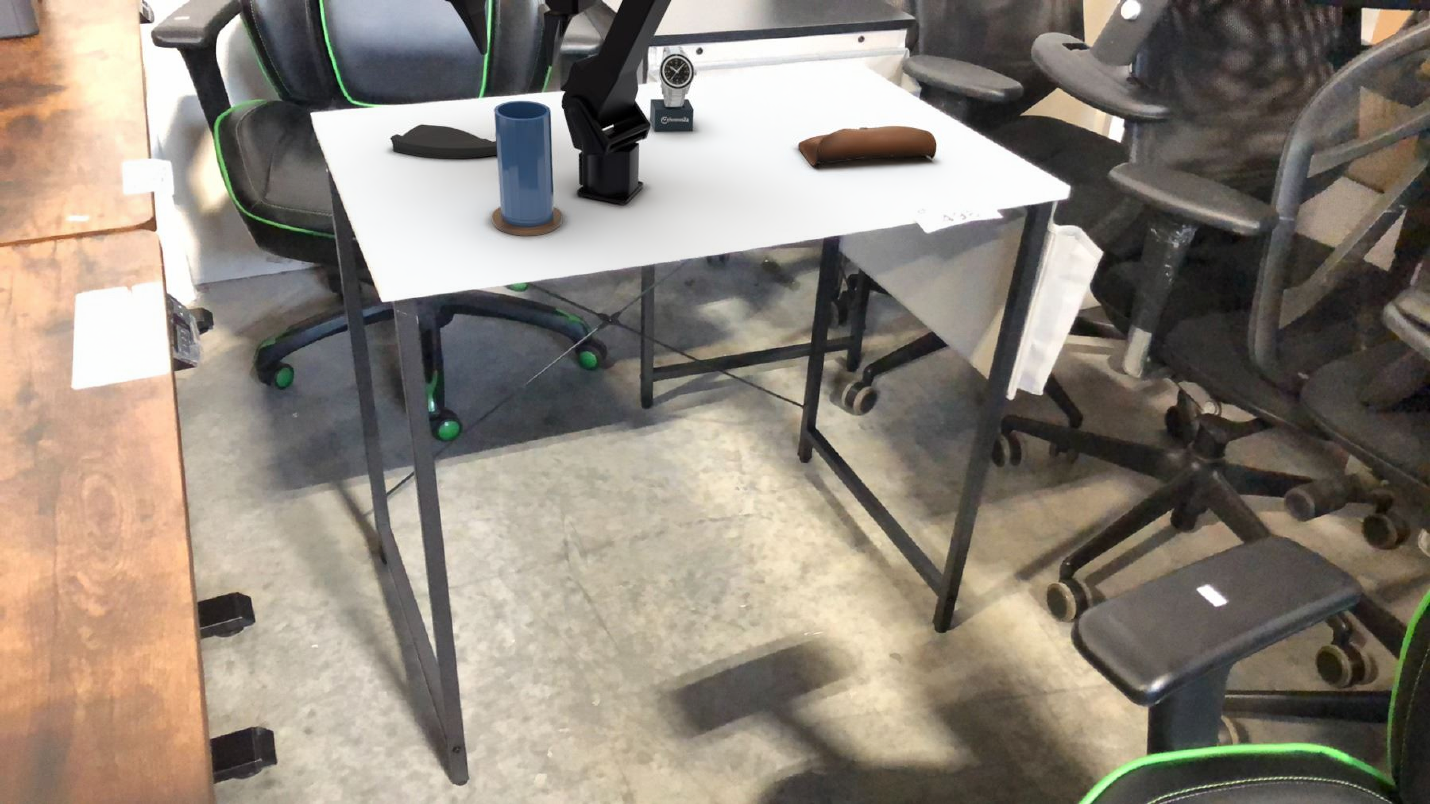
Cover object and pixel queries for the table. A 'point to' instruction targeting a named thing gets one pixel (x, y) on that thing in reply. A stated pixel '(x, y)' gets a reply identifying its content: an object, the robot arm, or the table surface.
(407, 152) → the dark sector wedge
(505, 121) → the pen cup
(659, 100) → the watch
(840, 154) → the sunglasses case
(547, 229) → the coaster
